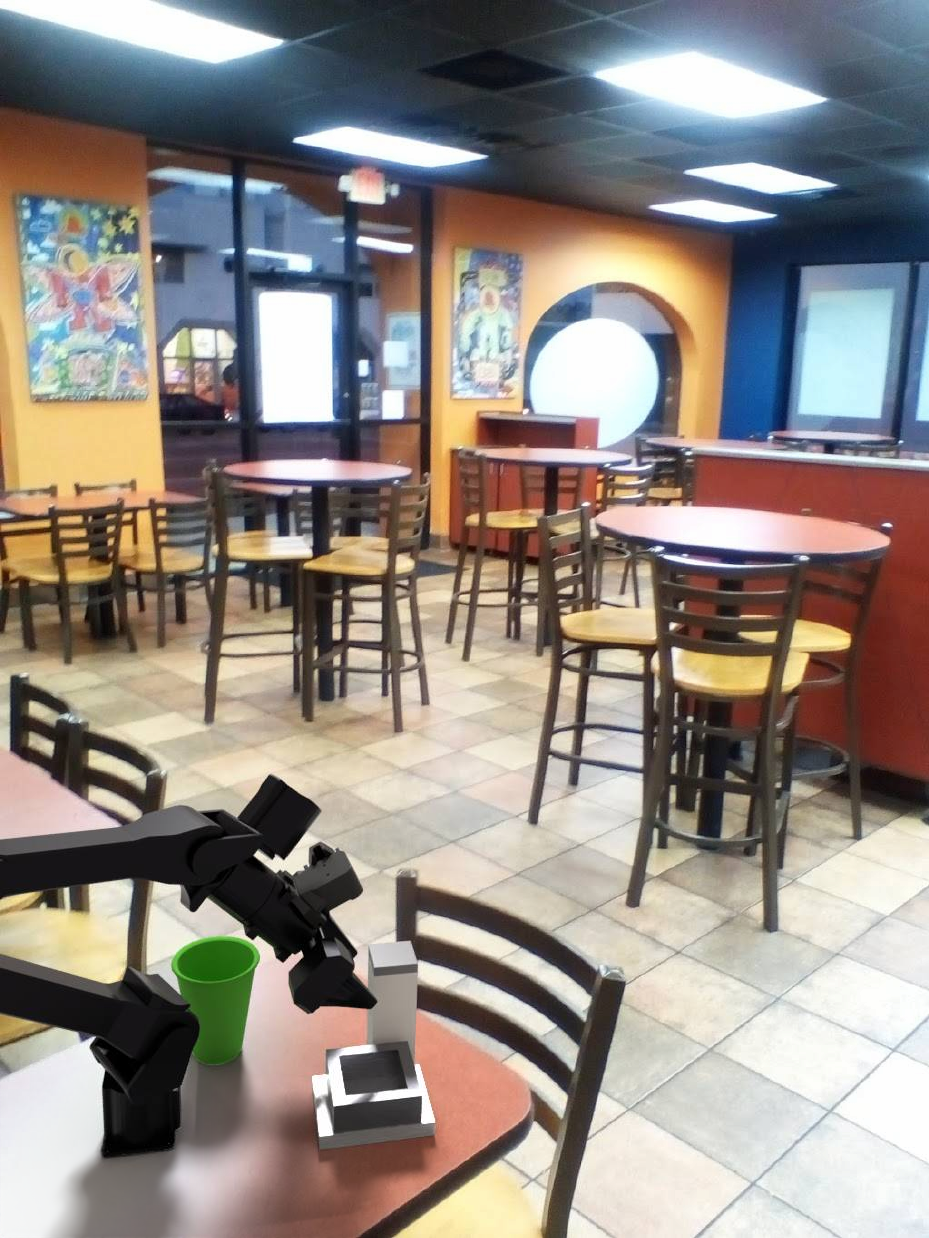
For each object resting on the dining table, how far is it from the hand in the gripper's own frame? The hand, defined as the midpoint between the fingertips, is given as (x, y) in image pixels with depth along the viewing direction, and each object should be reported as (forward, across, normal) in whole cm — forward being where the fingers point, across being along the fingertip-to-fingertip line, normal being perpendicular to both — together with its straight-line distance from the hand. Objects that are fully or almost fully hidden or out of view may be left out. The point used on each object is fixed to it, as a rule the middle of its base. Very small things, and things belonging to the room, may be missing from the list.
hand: (364, 979), depth 105 cm
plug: (+9, 0, +5) cm, 10 cm away
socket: (+6, -8, +8) cm, 12 cm away
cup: (-3, +6, +17) cm, 19 cm away
